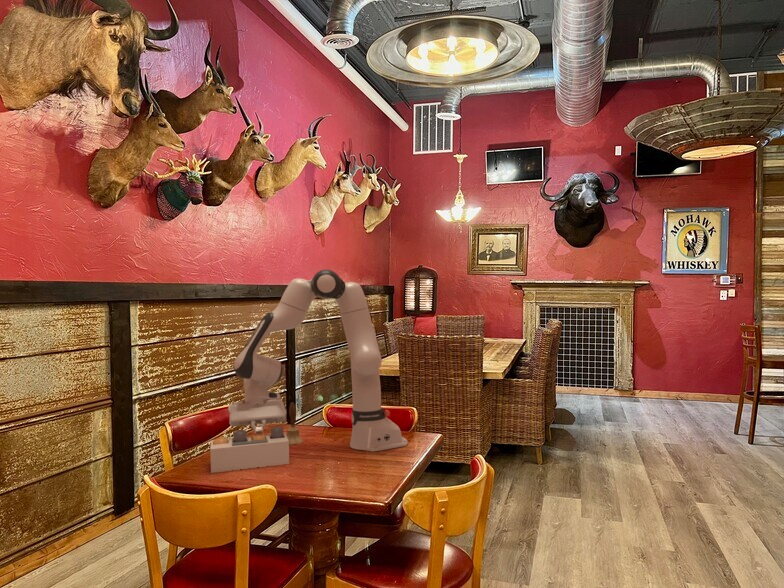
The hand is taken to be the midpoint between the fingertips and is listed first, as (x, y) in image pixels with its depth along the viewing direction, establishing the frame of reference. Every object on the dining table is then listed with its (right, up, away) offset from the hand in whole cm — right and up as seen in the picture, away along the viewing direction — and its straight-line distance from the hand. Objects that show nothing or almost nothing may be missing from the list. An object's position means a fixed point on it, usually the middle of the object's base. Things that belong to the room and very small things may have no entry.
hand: (259, 432), depth 194 cm
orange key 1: (-12, -8, -4) cm, 15 cm away
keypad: (-2, -10, -3) cm, 11 cm away
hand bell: (+8, -10, +23) cm, 26 cm away
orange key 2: (0, -7, 0) cm, 7 cm away
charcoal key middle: (-6, -6, -2) cm, 9 cm away
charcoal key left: (+6, -5, +2) cm, 8 cm away
